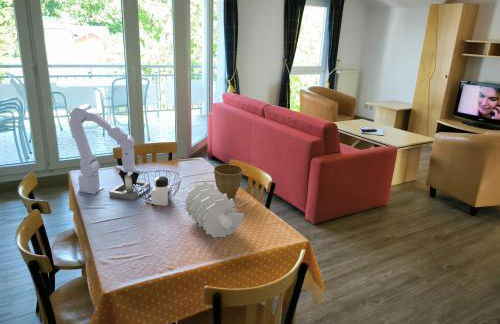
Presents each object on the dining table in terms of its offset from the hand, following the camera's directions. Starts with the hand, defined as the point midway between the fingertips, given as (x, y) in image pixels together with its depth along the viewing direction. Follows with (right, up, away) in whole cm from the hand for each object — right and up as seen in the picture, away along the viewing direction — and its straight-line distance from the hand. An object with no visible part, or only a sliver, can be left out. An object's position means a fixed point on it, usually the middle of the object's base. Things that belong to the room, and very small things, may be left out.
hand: (130, 184), depth 194 cm
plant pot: (+50, -7, +2) cm, 51 cm away
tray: (0, -4, +1) cm, 4 cm away
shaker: (0, -3, +1) cm, 3 cm away
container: (+18, -8, -7) cm, 21 cm away
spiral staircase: (+45, -17, -27) cm, 55 cm away
